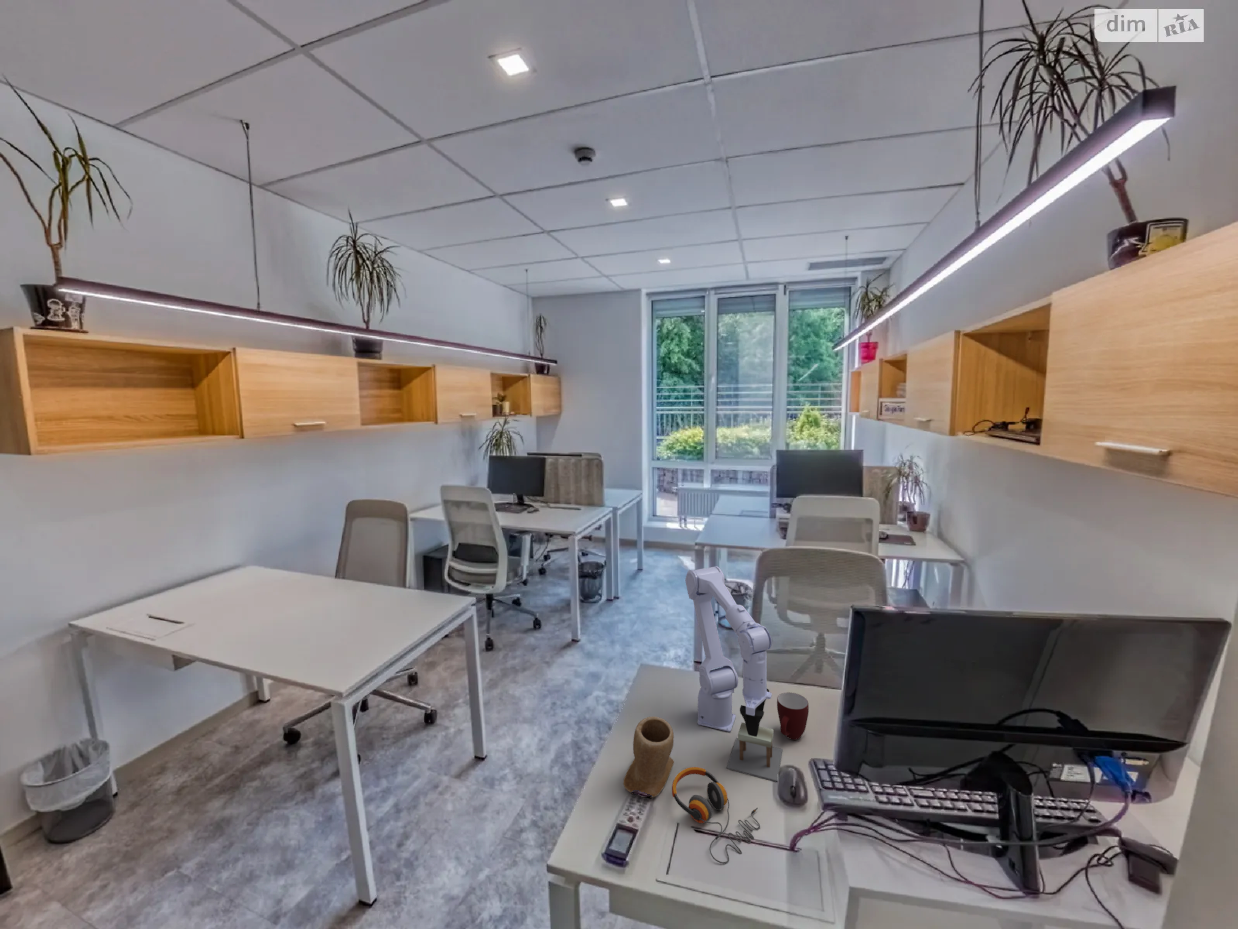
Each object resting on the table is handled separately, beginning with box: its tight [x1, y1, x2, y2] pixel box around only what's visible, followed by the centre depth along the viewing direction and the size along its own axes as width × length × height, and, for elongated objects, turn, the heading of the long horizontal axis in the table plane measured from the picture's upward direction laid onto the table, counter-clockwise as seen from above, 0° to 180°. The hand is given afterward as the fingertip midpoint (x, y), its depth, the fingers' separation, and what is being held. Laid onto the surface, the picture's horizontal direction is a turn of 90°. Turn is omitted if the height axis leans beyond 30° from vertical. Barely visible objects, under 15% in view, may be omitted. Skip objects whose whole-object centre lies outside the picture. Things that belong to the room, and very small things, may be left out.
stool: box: [737, 722, 774, 767], centre depth 123 cm, size 5×8×7 cm, turn 65°
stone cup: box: [622, 716, 675, 798], centre depth 117 cm, size 15×12×15 cm
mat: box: [726, 737, 784, 783], centre depth 123 cm, size 12×12×1 cm
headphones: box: [671, 766, 761, 865], centre depth 106 cm, size 17×5×20 cm
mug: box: [776, 691, 810, 741], centre depth 131 cm, size 10×8×10 cm
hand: (755, 725), depth 123 cm, fingers open, 7 cm apart
